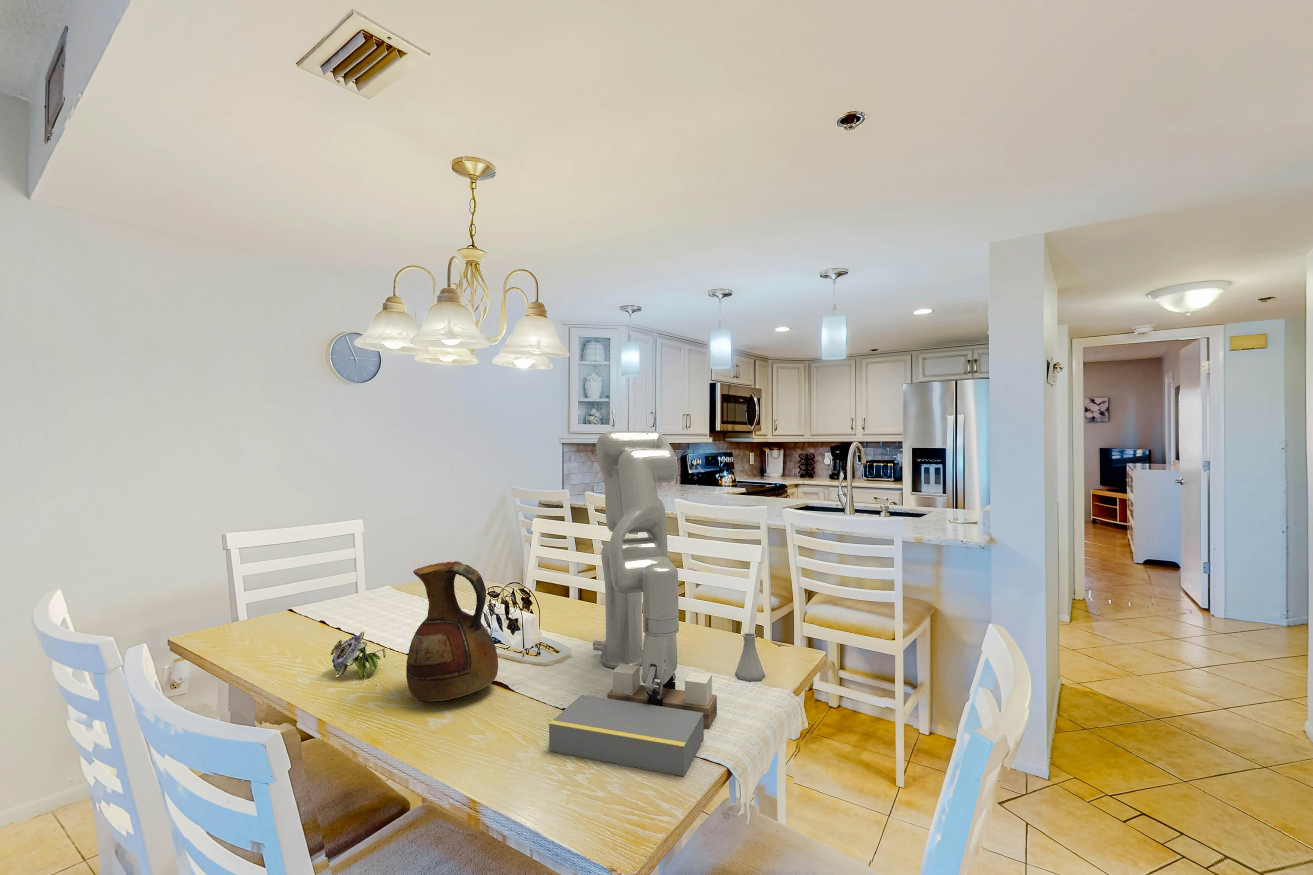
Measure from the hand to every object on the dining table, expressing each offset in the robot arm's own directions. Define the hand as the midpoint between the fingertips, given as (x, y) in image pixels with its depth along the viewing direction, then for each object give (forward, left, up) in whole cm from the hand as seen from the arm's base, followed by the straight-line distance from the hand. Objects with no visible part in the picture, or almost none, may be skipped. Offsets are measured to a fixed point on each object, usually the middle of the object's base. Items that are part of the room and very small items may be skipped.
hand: (662, 707), depth 121 cm
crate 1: (-8, 0, +3) cm, 8 cm away
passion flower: (-80, -3, -1) cm, 80 cm away
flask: (+14, +25, -1) cm, 29 cm away
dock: (-2, -14, -1) cm, 14 cm away
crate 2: (+8, 0, +3) cm, 8 cm away
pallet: (0, 0, -1) cm, 1 cm away
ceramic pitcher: (-49, -5, -1) cm, 49 cm away
